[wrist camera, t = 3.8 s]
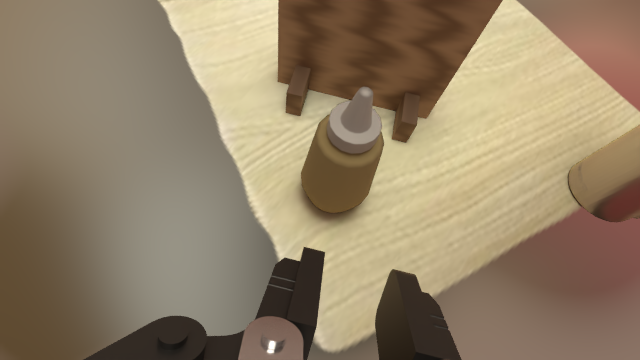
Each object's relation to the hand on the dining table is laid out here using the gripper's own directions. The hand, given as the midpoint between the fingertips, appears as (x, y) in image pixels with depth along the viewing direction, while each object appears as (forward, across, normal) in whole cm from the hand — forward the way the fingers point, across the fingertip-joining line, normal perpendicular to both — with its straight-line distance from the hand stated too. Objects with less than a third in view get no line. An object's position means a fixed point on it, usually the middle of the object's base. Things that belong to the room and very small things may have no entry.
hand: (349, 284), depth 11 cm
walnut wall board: (+39, 0, -2) cm, 39 cm away
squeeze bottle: (+30, 0, +7) cm, 31 cm away
